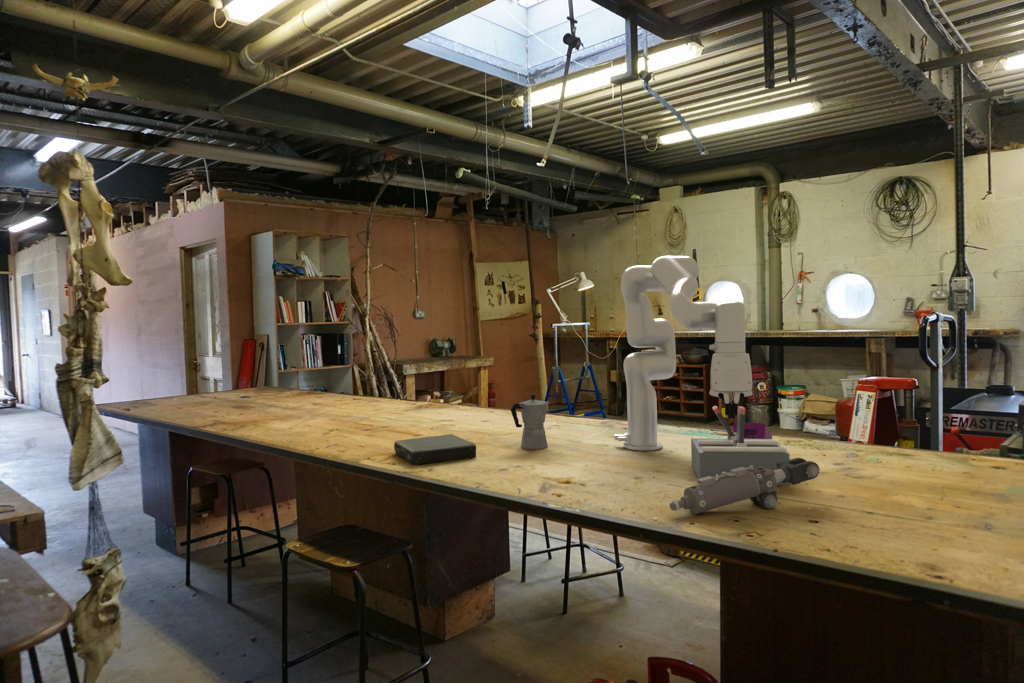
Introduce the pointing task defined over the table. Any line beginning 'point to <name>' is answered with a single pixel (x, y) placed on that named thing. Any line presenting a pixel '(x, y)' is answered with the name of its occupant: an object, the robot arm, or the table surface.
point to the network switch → (434, 449)
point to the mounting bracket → (754, 431)
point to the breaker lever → (740, 425)
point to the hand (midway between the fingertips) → (731, 417)
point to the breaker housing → (734, 453)
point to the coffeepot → (532, 423)
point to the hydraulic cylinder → (745, 486)
